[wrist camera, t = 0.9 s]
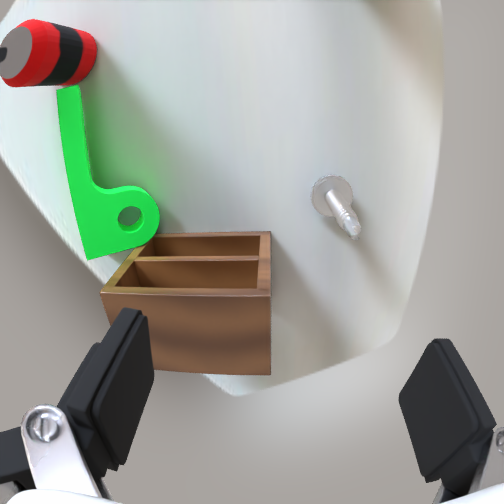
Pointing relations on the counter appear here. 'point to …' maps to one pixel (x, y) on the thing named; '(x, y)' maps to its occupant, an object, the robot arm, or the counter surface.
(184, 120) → the counter surface
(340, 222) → the screw
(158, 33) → the counter surface
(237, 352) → the shelf
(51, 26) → the soda can
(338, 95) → the counter surface
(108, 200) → the bracket
